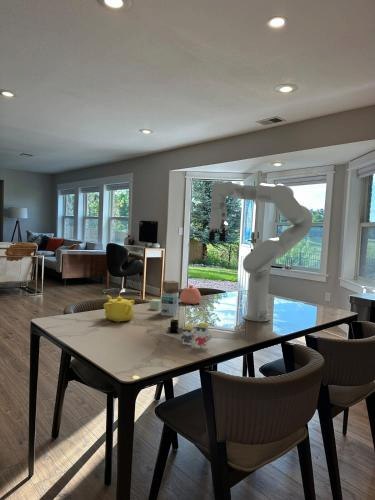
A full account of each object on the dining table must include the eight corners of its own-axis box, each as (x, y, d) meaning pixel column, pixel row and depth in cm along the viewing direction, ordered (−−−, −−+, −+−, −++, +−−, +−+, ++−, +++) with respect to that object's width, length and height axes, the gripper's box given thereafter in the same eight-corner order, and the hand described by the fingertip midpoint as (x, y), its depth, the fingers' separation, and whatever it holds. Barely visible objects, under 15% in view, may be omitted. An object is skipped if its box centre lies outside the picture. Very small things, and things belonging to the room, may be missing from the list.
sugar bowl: (178, 304, 198) (179, 286, 197) (180, 300, 212) (180, 282, 211) (201, 305, 197) (201, 287, 197) (200, 301, 211) (201, 283, 211)
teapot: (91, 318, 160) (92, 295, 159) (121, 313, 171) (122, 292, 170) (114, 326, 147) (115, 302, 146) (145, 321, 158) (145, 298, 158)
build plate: (181, 336, 139) (181, 325, 139) (162, 335, 140) (163, 324, 140) (184, 328, 152) (184, 317, 152) (166, 327, 152) (167, 316, 152)
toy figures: (178, 343, 130) (179, 320, 129) (185, 340, 133) (186, 318, 133) (207, 350, 123) (208, 326, 122) (213, 347, 126) (214, 324, 126)
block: (178, 292, 173) (178, 282, 173) (166, 293, 171) (167, 282, 170) (173, 290, 179) (173, 280, 178) (162, 291, 176) (162, 280, 176)
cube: (153, 307, 188) (161, 308, 186) (150, 309, 183) (158, 310, 182) (154, 299, 187) (162, 300, 186) (150, 300, 183) (158, 301, 182)
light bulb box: (174, 316, 170) (175, 294, 169) (160, 315, 171) (161, 293, 170) (178, 311, 180) (179, 290, 180) (165, 310, 181) (166, 289, 181)
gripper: (234, 207, 176) (232, 241, 177) (215, 208, 192) (213, 240, 192) (221, 206, 173) (219, 241, 174) (203, 207, 188) (201, 240, 189)
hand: (216, 240), depth 183 cm, fingers open, 9 cm apart
